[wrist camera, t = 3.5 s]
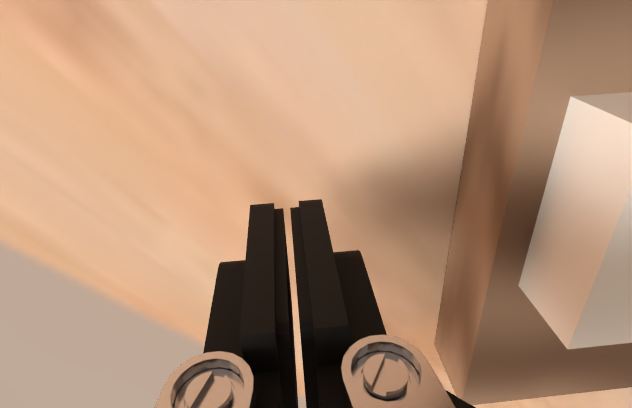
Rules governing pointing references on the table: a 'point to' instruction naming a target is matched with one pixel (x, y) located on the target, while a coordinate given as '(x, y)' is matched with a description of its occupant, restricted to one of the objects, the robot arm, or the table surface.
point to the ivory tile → (586, 227)
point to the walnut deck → (523, 198)
